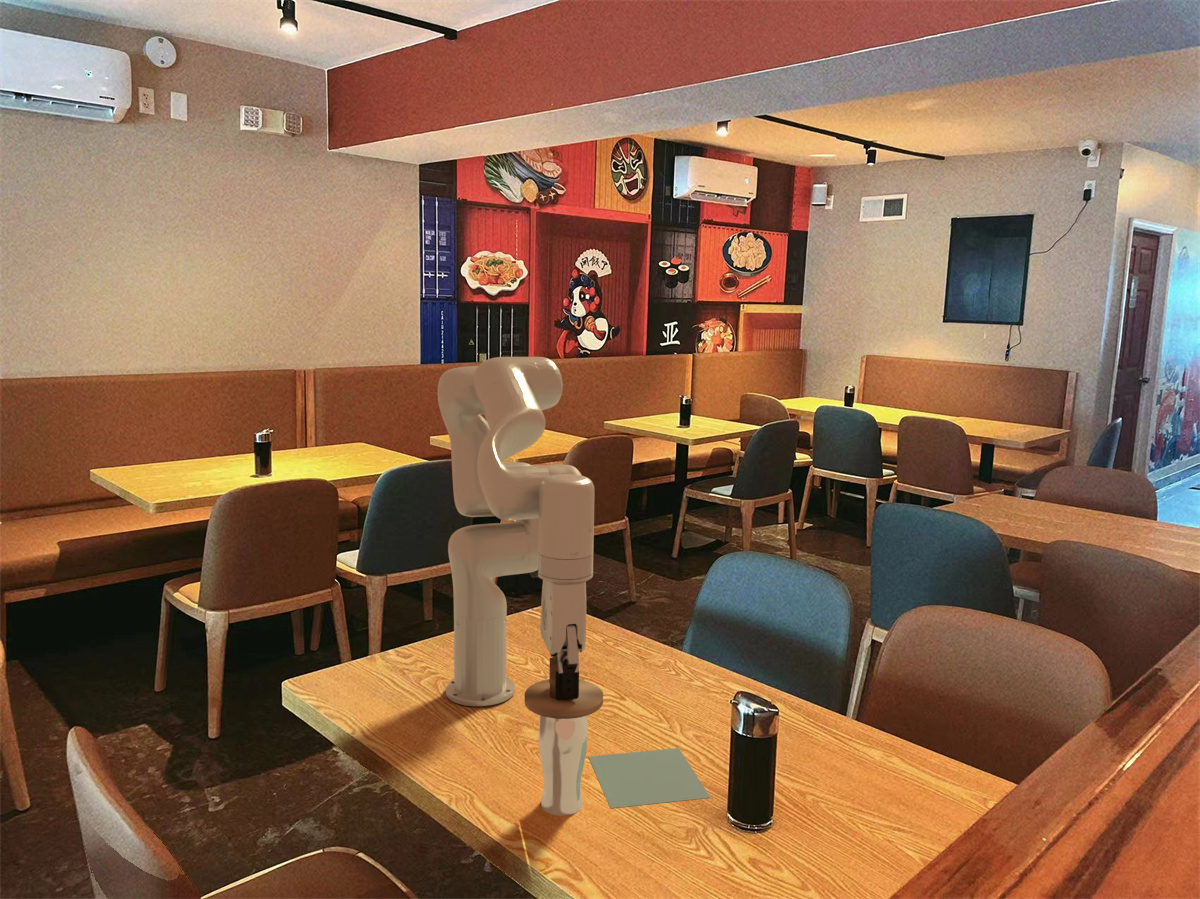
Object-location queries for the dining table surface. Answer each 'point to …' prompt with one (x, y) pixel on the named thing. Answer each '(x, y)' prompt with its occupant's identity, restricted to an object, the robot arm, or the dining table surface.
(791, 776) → the dining table surface
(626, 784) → the rubber mat
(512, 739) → the dining table surface
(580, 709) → the walnut lid
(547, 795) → the beer glass
